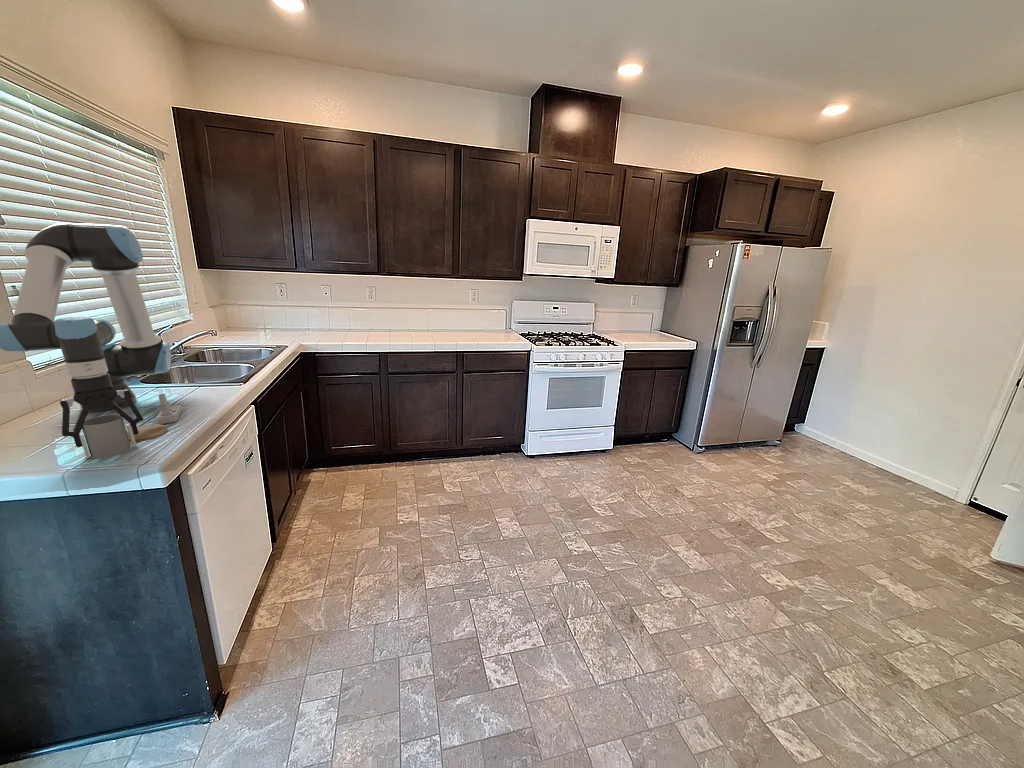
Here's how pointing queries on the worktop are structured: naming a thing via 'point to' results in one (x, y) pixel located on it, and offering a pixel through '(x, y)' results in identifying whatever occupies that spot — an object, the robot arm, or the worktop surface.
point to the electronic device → (168, 411)
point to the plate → (148, 432)
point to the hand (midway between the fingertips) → (111, 450)
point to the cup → (106, 436)
